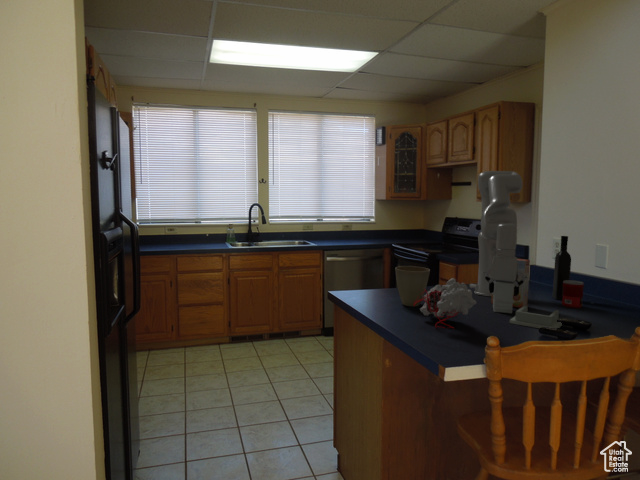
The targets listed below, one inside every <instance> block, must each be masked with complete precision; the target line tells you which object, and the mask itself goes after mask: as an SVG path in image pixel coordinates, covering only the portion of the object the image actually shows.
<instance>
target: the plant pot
mask: <svg viewBox="0 0 640 480" xmlns="http://www.w3.org/2000/svg"><path fill="white" fill-rule="evenodd" d="M394 271H395V279H396V285H397V289H398V294H399V298H400V301H401V304H402V305H404V306H407V307H419V306H420V305H421V302H422V301H419V302H417V301H418V300H420V299H422V298H424V295H425V292H426V291H425V290H424V289H426V290H427V285H428V281H429V277H430V274H431V273H430V272H431V269H430V268H428V267H427V268H426V267H422V266H415V265H414V266H413V265H401V266H400V265H399V266H396V267H395V269H394ZM424 291H425V292H424ZM422 292H423V293H422ZM421 293H422V294H421ZM418 296H419V297H418ZM417 298H418V299H417ZM416 300H417V301H416ZM415 301H416V302H417V303H416V302H415ZM414 302H415V303H416V304H415V306H413V304H414Z"/></svg>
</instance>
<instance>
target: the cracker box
mask: <svg viewBox="0 0 640 480" xmlns="http://www.w3.org/2000/svg"><path fill="white" fill-rule="evenodd" d="M517 262H518V271H519V272H520V273H522V274H524V275H525V276H527V278H526V280H525V281H524V283H523V284H521V285H520V286H519V294H518V295H517V296H514V289H513V307H512V308H517V309H520V308H522V307H523V306H528V299H529V298H528V297H529V280H530V279H529V278H530V264H531V263H530V262H531V261H530V259H524V258H517ZM521 279H522V278H521V277H520V276H518V279H517V280H518V281H519V282H520V281H521ZM493 283H494V282H493ZM514 287H515V284H514ZM490 297H491V298H490V299H491V300H490V302H491V304H493V299H494V292H493V293H492V296H490Z"/></svg>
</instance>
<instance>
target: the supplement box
mask: <svg viewBox="0 0 640 480" xmlns="http://www.w3.org/2000/svg"><path fill="white" fill-rule="evenodd" d="M513 289H514V283H513V282H509V281H500V280H495V281H494V299H493V303H492V308H493V312H494V313H505V314H513V308H514V307H513Z"/></svg>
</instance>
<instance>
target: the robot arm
mask: <svg viewBox="0 0 640 480" xmlns="http://www.w3.org/2000/svg"><path fill="white" fill-rule="evenodd" d="M522 179H523V178H522V177H521V175H520V174H519V173H518V172H516V171H513V170H511V171H510V170H507V171H506V170H503V171H502V170H486V171H482V172H480V173H479V174H478V177H477V186H478V187H477V188H478V192H479V194H480V197H481V216H480V230H481V231H480V232H479V234H478V237H477V240H478V242H477V243H478V252H479V253H478V254H479V255H478V271H477V272H478V273H477V275H478V276H477V283H469V288H470V289H474V291H473V293H474V294H475V295H478V296H483V297H492V293H493V292H494V283H493V282H494V281H495V280H500V281H509V282H513V283H514V284H515V287H514V296H517V295H518V294H519V286H520V285H521V284H523V283H524V281H525V280H526V278H527V276H525V275H524V274H522V273H520V272H519V271H518V262H517V259H518V258H517V256H516V252H517V251H516V249H517V241H518V240H517V239H518V238H517V237H518V235H517V234H518V229H517V227H518V217H517V212H516V211H515V209H513V208H509V207H510V205H511V199H510V197H511V196H510V194H518V193H520V192H521V191H522V190H523V180H522ZM518 276H520V277H521V278H522V279H521V281H520V282H519V281H518V280H517V279H518Z"/></svg>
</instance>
